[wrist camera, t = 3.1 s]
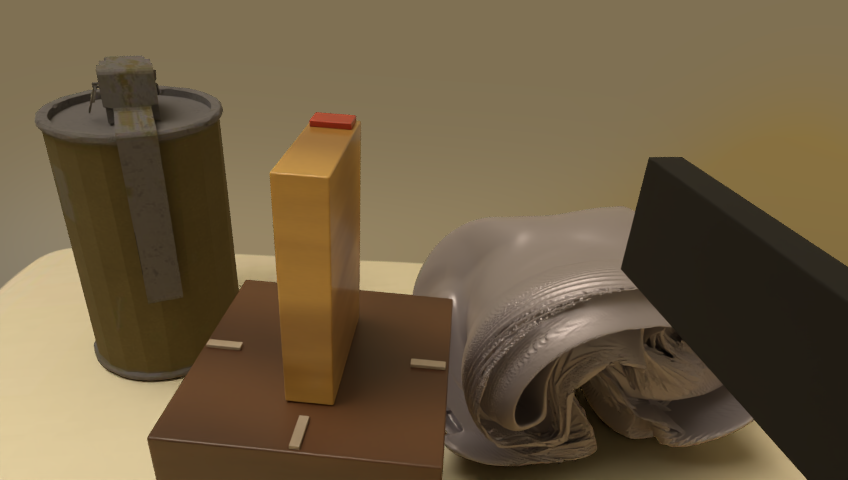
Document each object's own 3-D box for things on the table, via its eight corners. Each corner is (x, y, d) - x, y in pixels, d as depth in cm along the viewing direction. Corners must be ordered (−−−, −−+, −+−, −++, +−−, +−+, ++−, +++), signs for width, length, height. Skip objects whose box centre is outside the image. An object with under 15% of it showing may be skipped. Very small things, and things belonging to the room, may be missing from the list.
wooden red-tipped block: (333, 406, 22) (329, 170, 18) (285, 401, 22) (268, 164, 18) (359, 317, 27) (361, 114, 22) (319, 313, 27) (312, 110, 22)
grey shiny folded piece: (651, 352, 49) (667, 171, 44) (818, 505, 33) (871, 243, 28) (407, 380, 46) (398, 190, 42) (455, 563, 30) (448, 282, 25)
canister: (95, 310, 47) (30, 47, 38) (232, 285, 51) (205, 43, 42) (94, 402, 39) (9, 95, 29) (258, 364, 43) (232, 83, 33)
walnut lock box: (420, 676, 26) (443, 465, 20) (194, 650, 26) (144, 434, 20) (434, 484, 35) (453, 295, 29) (264, 466, 35) (245, 276, 29)
